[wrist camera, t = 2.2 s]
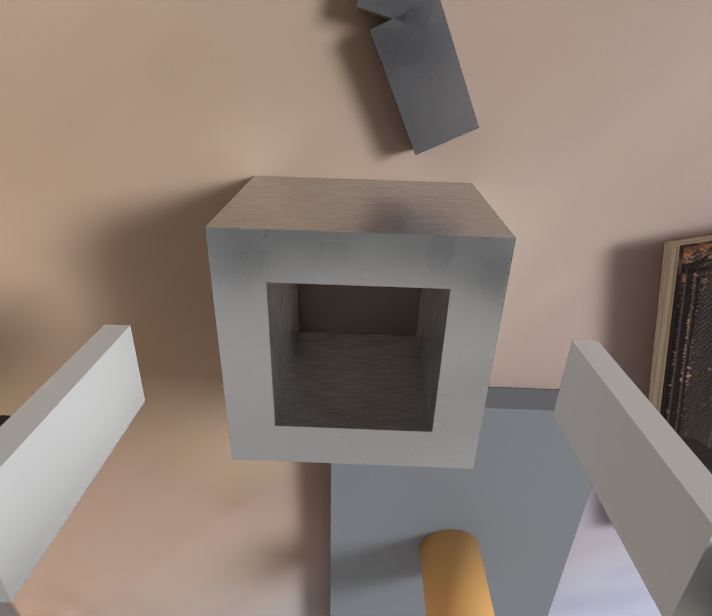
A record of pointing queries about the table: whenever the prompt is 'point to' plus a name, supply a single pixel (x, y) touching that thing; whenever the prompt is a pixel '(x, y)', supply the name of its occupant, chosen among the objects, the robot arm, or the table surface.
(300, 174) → the table surface
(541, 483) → the keeper
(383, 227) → the square tube segment
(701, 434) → the hardcover book
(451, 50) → the chain tail
